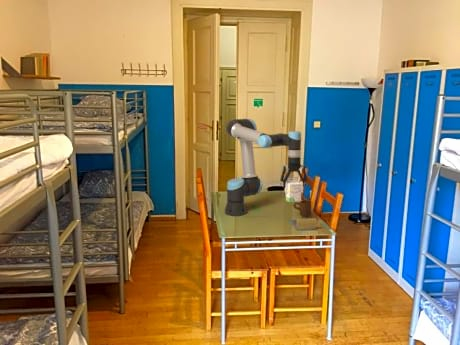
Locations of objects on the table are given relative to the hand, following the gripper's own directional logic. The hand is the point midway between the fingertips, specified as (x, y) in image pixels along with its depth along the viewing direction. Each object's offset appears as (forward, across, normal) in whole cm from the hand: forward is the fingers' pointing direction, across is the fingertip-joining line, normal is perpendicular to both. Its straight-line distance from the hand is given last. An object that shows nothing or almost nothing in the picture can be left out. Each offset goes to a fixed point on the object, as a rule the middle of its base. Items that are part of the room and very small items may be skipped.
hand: (293, 192), depth 252 cm
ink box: (+6, 0, 0) cm, 6 cm away
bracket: (+21, +5, -2) cm, 22 cm away
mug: (+21, +11, +19) cm, 31 cm away
